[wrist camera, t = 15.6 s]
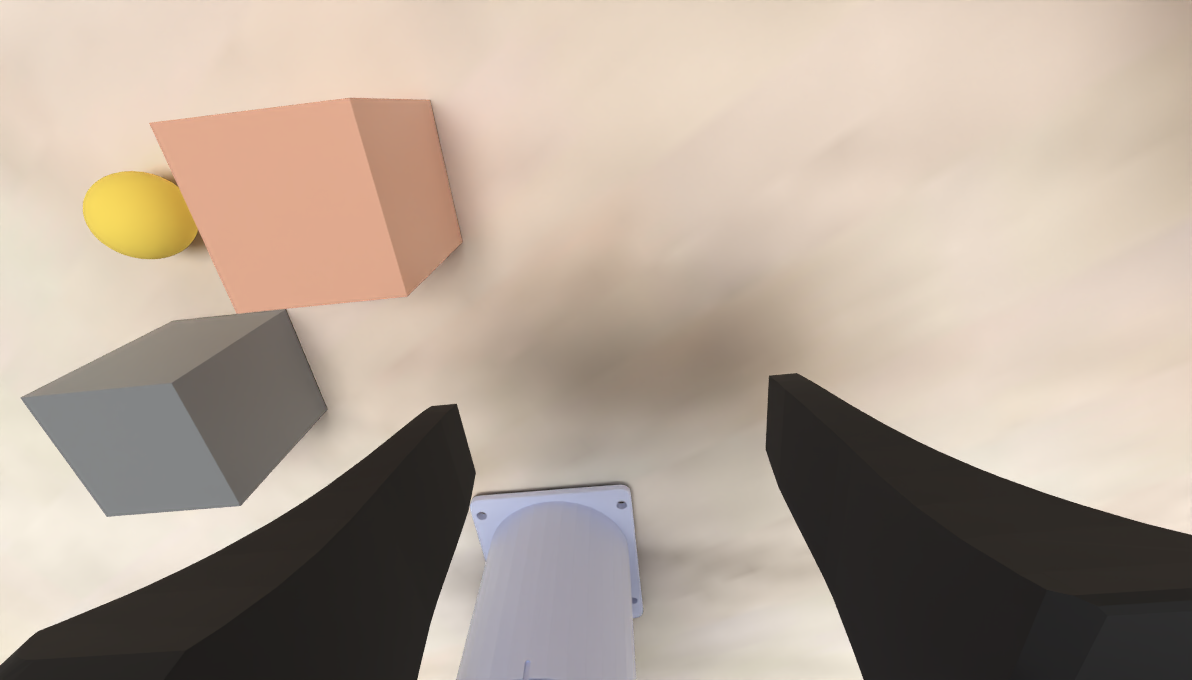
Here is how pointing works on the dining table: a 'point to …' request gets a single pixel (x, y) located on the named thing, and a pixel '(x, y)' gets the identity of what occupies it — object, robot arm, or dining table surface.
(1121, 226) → the dining table surface
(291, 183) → the cover
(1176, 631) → the robot arm
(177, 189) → the ball
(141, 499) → the cover
